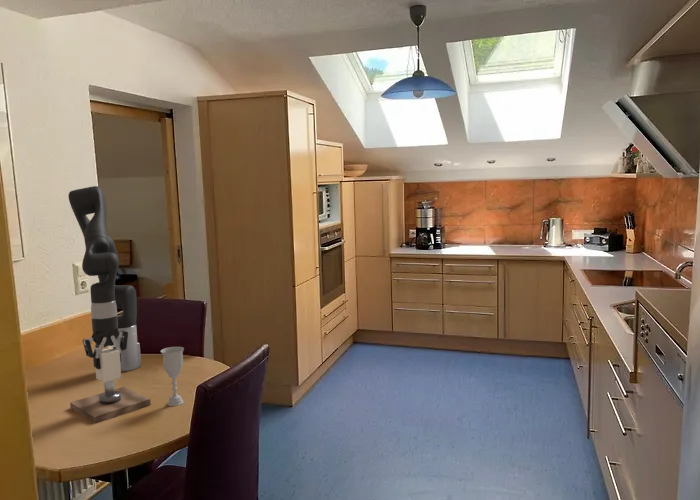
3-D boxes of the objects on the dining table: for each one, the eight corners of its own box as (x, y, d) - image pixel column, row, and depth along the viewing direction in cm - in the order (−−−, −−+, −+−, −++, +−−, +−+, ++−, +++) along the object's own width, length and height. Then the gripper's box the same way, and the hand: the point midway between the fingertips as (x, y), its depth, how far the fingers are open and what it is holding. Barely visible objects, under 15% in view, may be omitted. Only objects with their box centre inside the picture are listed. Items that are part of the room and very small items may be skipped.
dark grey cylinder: (115, 395, 180) (113, 366, 179) (124, 400, 176) (122, 370, 175) (96, 401, 175) (93, 371, 174) (105, 406, 171) (102, 375, 170)
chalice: (165, 408, 173) (162, 354, 171) (162, 401, 179) (159, 348, 177) (188, 404, 176) (185, 350, 174) (184, 397, 182) (182, 345, 180)
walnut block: (124, 392, 188) (124, 386, 188) (150, 404, 176) (150, 398, 176) (70, 408, 175) (70, 402, 175) (94, 423, 163) (94, 416, 163)
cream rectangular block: (113, 374, 179) (111, 347, 178) (121, 377, 175) (119, 350, 174) (96, 378, 174) (94, 351, 173) (104, 382, 171) (102, 354, 170)
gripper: (120, 309, 180) (124, 358, 182) (76, 317, 169) (80, 369, 171) (131, 312, 175) (134, 363, 177) (86, 321, 165) (90, 374, 166)
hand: (107, 366), depth 174 cm, fingers closed on cream rectangular block, 5 cm apart
